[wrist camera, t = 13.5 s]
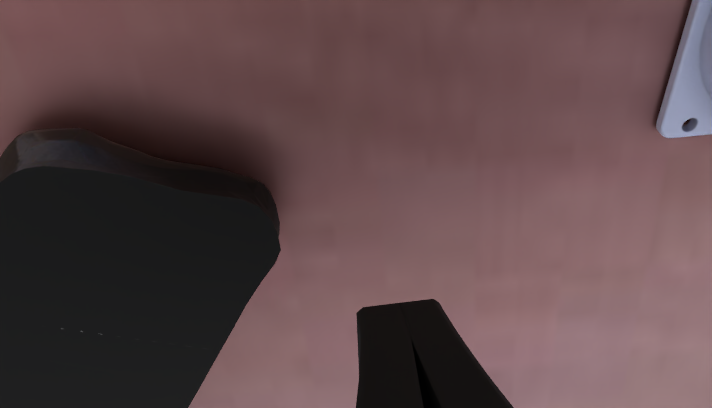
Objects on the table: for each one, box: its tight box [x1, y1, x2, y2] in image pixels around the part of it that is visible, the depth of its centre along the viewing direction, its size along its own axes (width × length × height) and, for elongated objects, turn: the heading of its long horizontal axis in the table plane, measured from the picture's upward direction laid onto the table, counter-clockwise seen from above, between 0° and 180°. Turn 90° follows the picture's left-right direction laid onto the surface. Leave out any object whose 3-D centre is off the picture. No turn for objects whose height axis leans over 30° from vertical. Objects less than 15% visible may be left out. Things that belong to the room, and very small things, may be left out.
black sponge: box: [0, 128, 281, 408], centre depth 22 cm, size 16×8×4 cm, turn 152°
